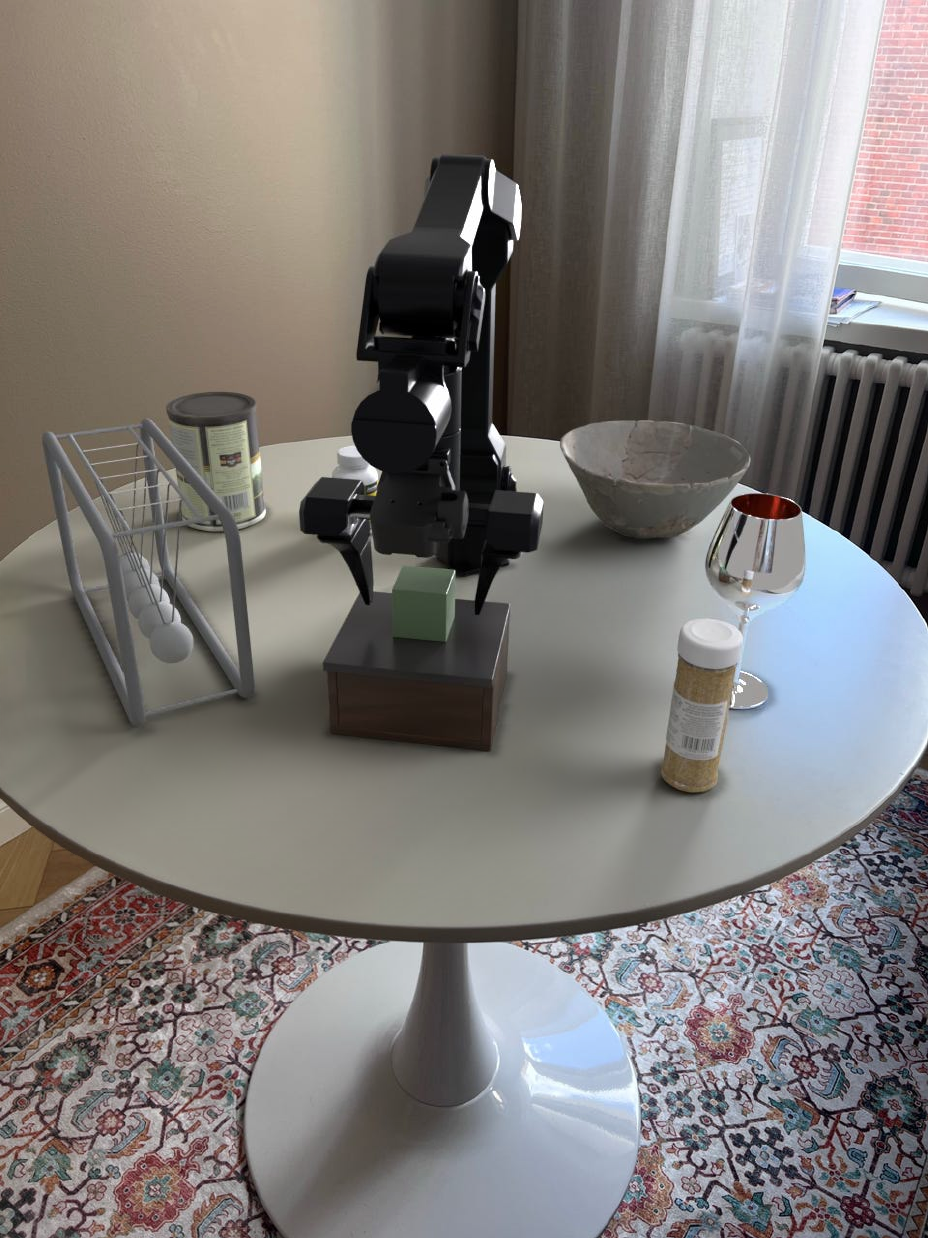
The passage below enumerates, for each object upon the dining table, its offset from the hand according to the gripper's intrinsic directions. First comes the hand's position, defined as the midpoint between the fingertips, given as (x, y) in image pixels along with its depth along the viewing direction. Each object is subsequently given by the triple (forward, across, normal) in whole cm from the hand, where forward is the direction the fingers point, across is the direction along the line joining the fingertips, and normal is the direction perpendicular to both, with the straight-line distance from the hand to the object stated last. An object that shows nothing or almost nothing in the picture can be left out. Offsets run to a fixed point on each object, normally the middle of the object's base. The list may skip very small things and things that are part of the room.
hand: (423, 607), depth 82 cm
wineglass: (+10, +27, +7) cm, 30 cm away
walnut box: (+10, 0, 0) cm, 10 cm away
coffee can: (+10, -32, +36) cm, 49 cm away
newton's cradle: (+10, -27, +6) cm, 30 cm away
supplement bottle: (+10, -15, +35) cm, 40 cm away
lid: (+3, 0, 0) cm, 3 cm away
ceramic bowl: (+10, +20, +43) cm, 48 cm away
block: (+2, 0, 0) cm, 2 cm away
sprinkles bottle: (+10, +23, -6) cm, 26 cm away
